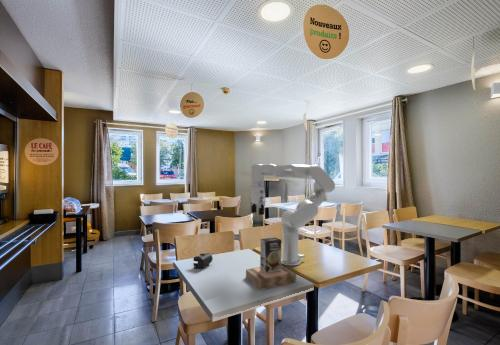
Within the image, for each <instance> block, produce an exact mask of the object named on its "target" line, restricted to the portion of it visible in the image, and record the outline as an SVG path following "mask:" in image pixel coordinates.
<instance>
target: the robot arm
mask: <svg viewBox="0 0 500 345" xmlns="http://www.w3.org/2000/svg"><path fill="white" fill-rule="evenodd" d="M250 168H251V169H250V170H251V176H250V178H251V179H250V180H251V182H250V183H251V193H250V194H251V196H250V206H251V207H250V208H251V209H250V210H251V213H253V214H254V213H257V205H258V207H259V208H258V215H259V216H261V215H265V206H266V203H267V202H266V192H265V177H275V178H286V179H300V180H301V179H303V180H314V183H313V189H312V190H313V191H312V192H311V194H310V195H308V196H307V197H306V198H304V199H303V200H301V201H300V202H298V204H297V205H296V211H295V210H291V209H288V210H284V212H282V215H281V226H282V227H281V229H282V257H281V265H285V266H288V267H289V266H294V267H295V266H299V265H301V263H302V260H301V259H305V257H306V256H305V254H300V253H299V229H301V228H302V227H304V226H306V224H308V223H309V222H311V221H312V220H313V219H314V218H315V217H316V216H317V215H318V213H319V206H320V205H322V204H323V203H324V200H325V198H326V197H325V196H326V193H332V192H333V191H334V190H335V188H336V184H335V181H334V180H333V179H332V177H331V176H330V175H329V174H328V173H327V172H326V171H325V170H324V169H323V168H322V167H321V166H319V165H317V164H312V165H309V164H294V163H293V164H291V163H290V164H281V165H279V164H277V165H276V164H274V163H267V164H262V163H261V164H258V163H253V164H252V165H251V167H250Z"/></svg>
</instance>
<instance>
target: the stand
mask: <svg viewBox="0 0 500 345" xmlns="http://www.w3.org/2000/svg"><path fill="white" fill-rule="evenodd" d="M245 278H246V279H247V280H249V281H250V283H252V284H253V285H254V286H255V287H256V288H258V289H259V290H260V291H261V290H262V291H263V290H265V289H270V288H274V287H279V286H284V285H289V284H293V283H297V274H296V273H295V272H294V271H292V270H290V269H288V268H287V267H286V266H283V264H281V272H276V273H270V274H265V273H263V272H262V271H261V270H260V266H258V267H253V268H247V269H245Z"/></svg>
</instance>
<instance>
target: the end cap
mask: <svg viewBox="0 0 500 345" xmlns="http://www.w3.org/2000/svg"><path fill="white" fill-rule="evenodd" d="M192 259H193V269H194V270H195V269H196V270H202V269H203V268H206V266H208V265H209V264H211V263H212V262H213V255H212V253H210V252H207V253H200V254H199V256H198V255H196V256H194V257H193V258H192ZM196 262H197V263H196Z"/></svg>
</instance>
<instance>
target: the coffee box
mask: <svg viewBox="0 0 500 345" xmlns="http://www.w3.org/2000/svg"><path fill="white" fill-rule="evenodd" d="M281 259H282V239H280V238H277V237H267V238H260V261H259V263H260V264H259V265H260V266H259V267H260V270H261V271H262V272H263V273H265V274H270V273H276V272H281V265H282V263H281Z"/></svg>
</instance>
